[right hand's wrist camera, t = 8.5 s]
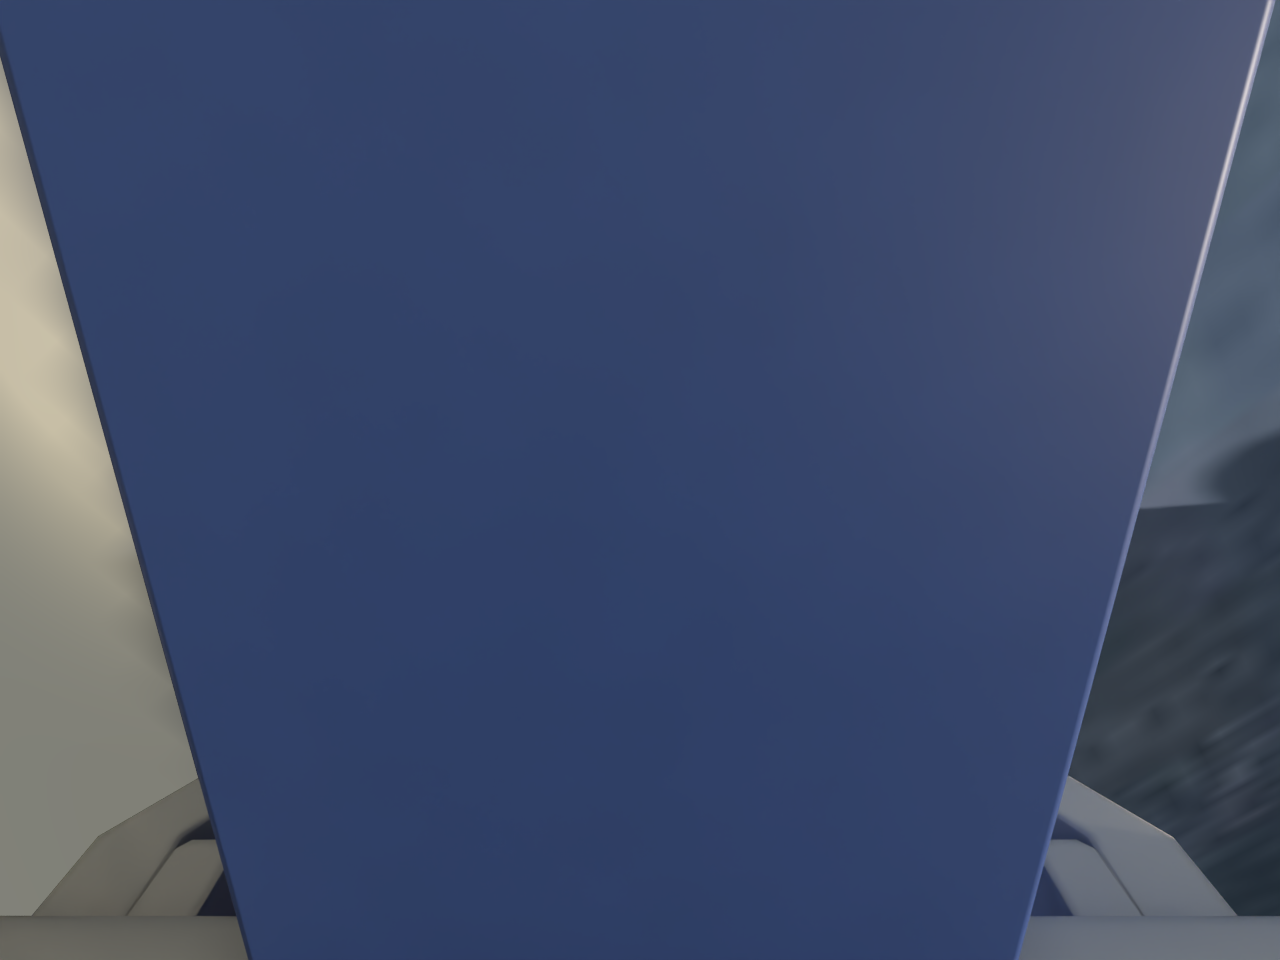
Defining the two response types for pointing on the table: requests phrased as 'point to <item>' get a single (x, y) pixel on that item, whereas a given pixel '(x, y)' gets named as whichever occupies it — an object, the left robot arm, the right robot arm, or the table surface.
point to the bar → (631, 439)
